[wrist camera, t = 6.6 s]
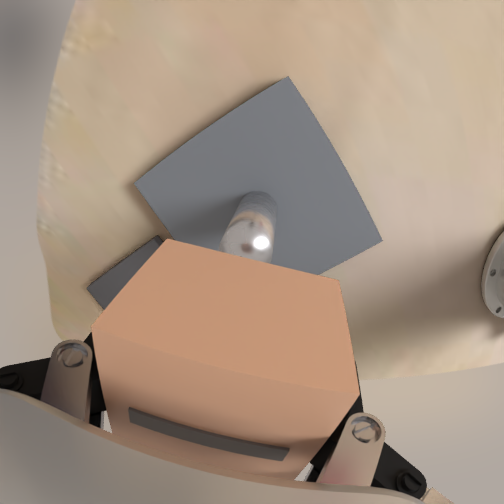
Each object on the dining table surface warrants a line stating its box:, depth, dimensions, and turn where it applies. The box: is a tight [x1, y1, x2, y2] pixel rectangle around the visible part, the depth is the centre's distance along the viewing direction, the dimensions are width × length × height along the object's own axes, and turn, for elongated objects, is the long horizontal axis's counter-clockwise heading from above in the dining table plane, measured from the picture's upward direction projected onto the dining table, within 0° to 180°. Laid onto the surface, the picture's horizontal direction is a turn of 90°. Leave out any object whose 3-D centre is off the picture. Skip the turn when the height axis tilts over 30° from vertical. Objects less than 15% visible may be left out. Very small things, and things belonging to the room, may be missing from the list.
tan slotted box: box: [91, 239, 360, 480], centre depth 10 cm, size 6×6×5 cm
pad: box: [87, 235, 163, 310], centre depth 32 cm, size 11×11×1 cm
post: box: [219, 191, 277, 264], centre depth 21 cm, size 3×3×8 cm
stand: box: [134, 77, 383, 275], centre depth 26 cm, size 15×15×2 cm
